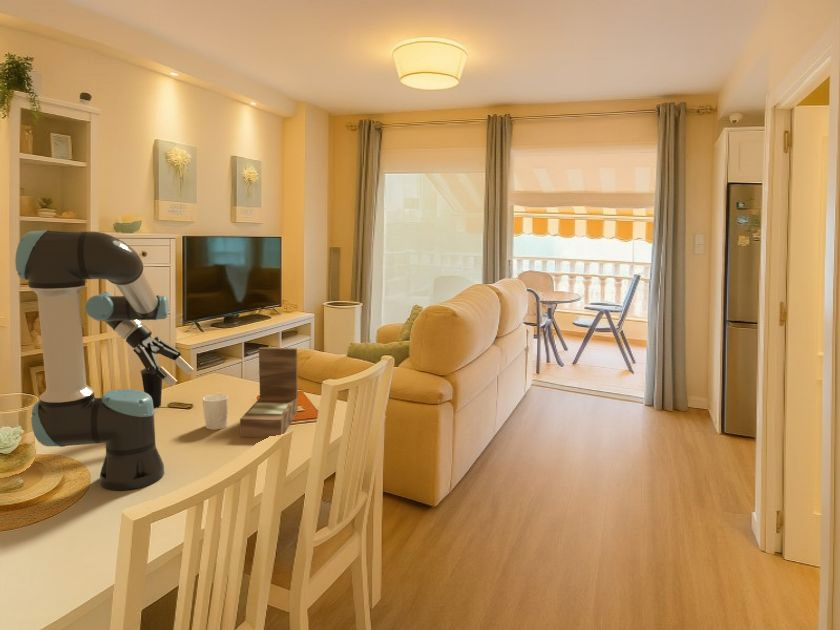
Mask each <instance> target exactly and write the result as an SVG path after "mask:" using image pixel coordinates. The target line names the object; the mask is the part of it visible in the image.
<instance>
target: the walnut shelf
mask: <svg viewBox="0 0 840 630" xmlns="http://www.w3.org/2000/svg"><path fill="white" fill-rule="evenodd" d="M258 367H259V369H258V376H259V398H258V400H256V402H254V404H253V405H252V406H251V407H250V408H249V409H248V410H247V411H246V412H245V413H244V414H243V415H242V416H241V418H240V419H239V426H240V427H239V428H240V429H239V431H240V438H261V439H262V438H265V439H266V437H269V436H276V435H281V434H285V433H286V432H287V430H288V429H289V427H290V425H291V424H292V422H293V421H294V419H293V417H294V415H295V414H296V412H297V410H299V408H298V401H299V399H298V398H299V397H298V348H297V347H293V348H292V347H291V348H290V347H259V348H258ZM292 420H293V421H292Z"/></svg>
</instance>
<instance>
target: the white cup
mask: <svg viewBox="0 0 840 630" xmlns="http://www.w3.org/2000/svg"><path fill="white" fill-rule="evenodd" d="M228 404H229V396H228V395H226V394H223V393H221V394H220V393H218V394H217V393H216V394H214V393H213V394H209V395H205V396H204V397H203V398H202V405H203V417H204V423H205V424H204V425H205V428H206V429H207V430H212V431H213V430H222V429H225V428H226V427H227V425H228V414H229V413H228V411H229V409H228V408H229V405H228Z"/></svg>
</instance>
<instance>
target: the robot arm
mask: <svg viewBox="0 0 840 630" xmlns="http://www.w3.org/2000/svg"><path fill="white" fill-rule="evenodd" d="M14 259H15V261H14V263H15V264H14V265H15V271H16V272H17V276H18V277H19V278H20V279H21V280H24V281H27V282H28V289H30V290H31V291H32V292H34V294H36V296H37V307H38V316H39V325H40V339H41V348H42V357H43V369H44V376H45V377H44V379H45V388H46V389H45V391H44V392H43V393H41V395H40V396H39V401H37V402H35V404H34V405H33V407H32V410H31V415H32V416H31V418H30V420H31V421H30V422H31V428H32V429H31V430H32V432H33V435H34V436H35V439H36V440H37V441H38V442H39V443H40V444H41V445H42V446H45V447H59V448H64V447H71V446H82V445H95V444H104V445H105V457H104V459H103V464H102V466H101V469H100V474H99V484H100V485H101V487H102V488H103V489H106V490H110V491H127V490H136V489H140V488H143V487H147V486H149V485H152V484H154V483H155V482H158V481H159V480H161V479H162V477H164V475H165V465H164V462H163V460H162V457H161V456H160V453H159V451H158V449H157V444H156V428H155V411H156V410H155V408H153V400H152V397H151V396H150V395H149V394H147V393H145V392H144V390H143V391H142V390H138V389H130V388H128V389H127V388H126V389H125V388H121V389H114V390H113V389H112V390H108V391H106V392H104V393H103V394H102V397H95V390H94V388H92V387H91V386H89V385H88V384H87V375H86V373H87V372H86V364H85V363H86V361H85V352H84V351H85V350H84V349H85V348H84V337H83V336H84V335H83V325H82V312H81V302H80V301H81V300H80V292H81V291H82V290H83V289H84V288H85V287H86V280H107V281H108V282H110V283H111V284H113V285H115V286H116V287H117V288H118V290H119V291H120V293H121V294H122V295H113V294H112V293H111V292H108V291H104V292H101V293H99V294H96V295H92V296H90V297H89V298H88V299H87V301H86V302H85V305H84V306H85V307H84V310H85V313H86V314H87V316H88V317H90V318H91V319H93V320H96V321H101V322H105V323H106V324H107V325H108V326H109V328H111V329H112V330H113V331H115V332H116V333H117V335H118V336H120V338H122V339H123V340H125V342H126V343H127V344H128V345H129V346H130V347H131V348H133V349H132V350H133V352H134V353H135V354H136V355H137V357H138V358H139V360H140V361H141V363H142V364H143V366H144V369H145V368H146V370H147V371H148V372H149V373H151V374H154V373H156V374H157V375H158V376H159V377H160V378H161V379H162V381H163V382H164V383H165V384H166V385H168V386H169V387H170V388H171V387H173V386H174V385H175V384H176V383H177V382H178V380H177V379H176V378H175V377H174V376H173V375H172V374H171V373H170V372H169V371H168V370H166V368H164V367H163V366H160V363H159V361H158V359H157V356H156V355H158V354H159V355H161V356H164V357H165V358H168V359H171V360H173V363H174V364H175V365H176V366H177V367H178V368H180V369H181V370H182V371H183V372H184V373H185V374H186V375H187V376H189V375H190V374H191V373H192V372H193V371H194V370H195V369H194V368H193V367H192V366H191V365H190V364H189V363H188V362H187V361H186V360H184V358H183V357H181V356H182V352H181V350H178V349H177V348H176V347H174V346H172V345H170V344H169V343H167V342H165V341H164V340H163V339H161V338H160V337H159V336H158V335H157V336H155V337H154V338H153V337H152V334H153V332H152V330H150V329H149V328H148V327H147V326H146V325H144V324H143V322H142V321H157V320H165V319H167V318H168V317H169V312H170V305H169V299H168V297H167V295H160V294H157V295H156V293H155V292H154V290H153V288H152V286H151V283H150V282H149V280H148V279H147V276H146V275H145V273H144V263H143V260H142V259H141V257H140V255H139V254H138V252H136V250H135V249H134V248H133V247H131V246H130V245H129V244H127V243H126V242H124V241H122V240H121V239H119V238H118V237H115V236H113V235H112V234H111V235H110V234H107V233H104V232H102V231H100V232H99V231H77V230H49V229H46V230H45V229H44V230H33V231H32V230H31V231H28V232H26V233H25V234H23V235H22V237H21V238H20V240H19V242H18V245H17V248H16V252H15V258H14ZM149 367H150V368H149Z"/></svg>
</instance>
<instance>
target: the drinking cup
mask: <svg viewBox="0 0 840 630" xmlns="http://www.w3.org/2000/svg"><path fill="white" fill-rule="evenodd" d="M149 368H150V367H149ZM139 373H140V374H141V380H142V386H143V392H145V393H147V394H149V395H150V396H151V397H152V400H153V408H154V409H157V408H160V407H161V406H162V393H163V391H162V390H163V380H162V379H161V378H160V377H159V376H158V375H157V374H156V373H154V374H151V373H149V372H148V371H147V370H146V368H145V367H144V368H143V369H141V370H140V371H139ZM159 406H160V407H159ZM156 407H157V408H156Z"/></svg>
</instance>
